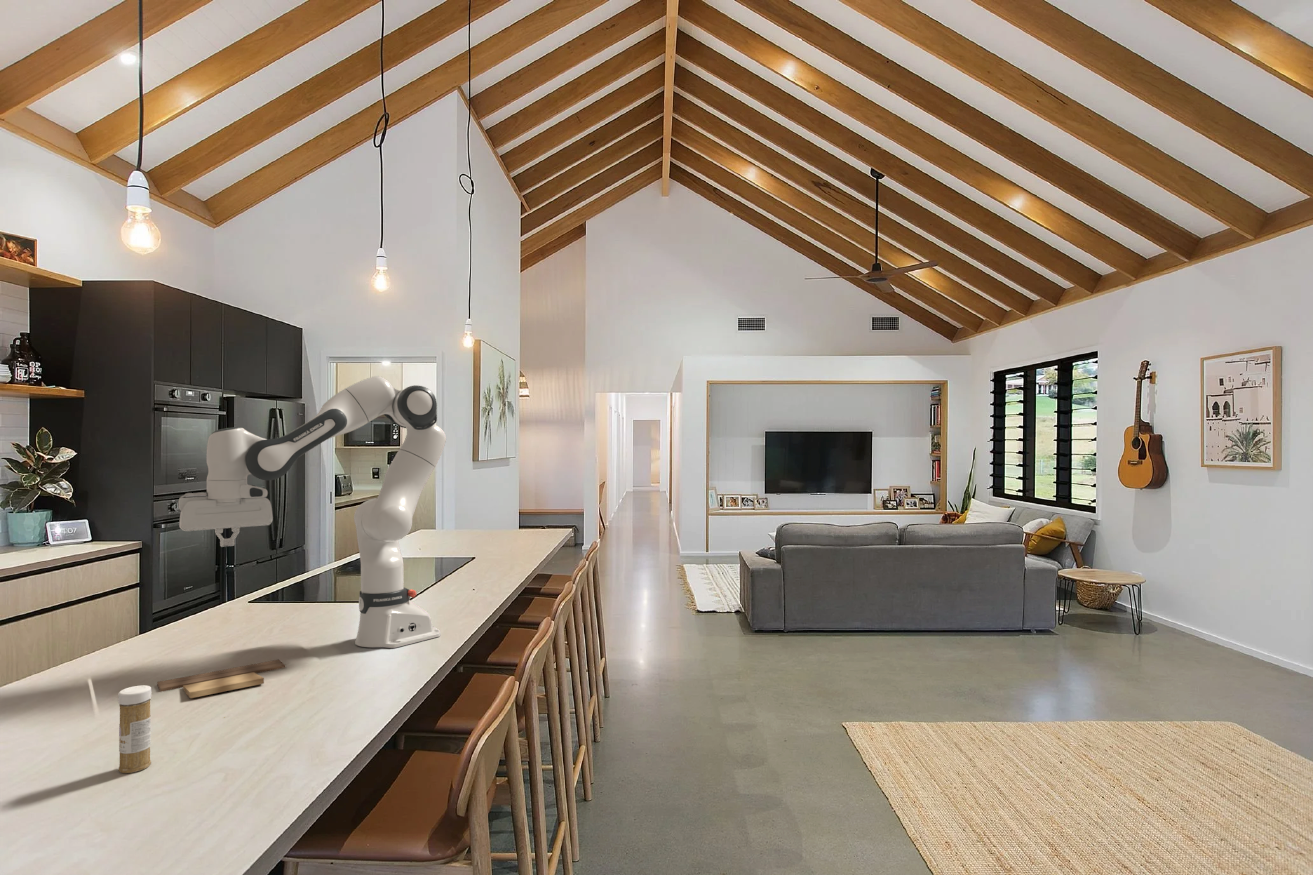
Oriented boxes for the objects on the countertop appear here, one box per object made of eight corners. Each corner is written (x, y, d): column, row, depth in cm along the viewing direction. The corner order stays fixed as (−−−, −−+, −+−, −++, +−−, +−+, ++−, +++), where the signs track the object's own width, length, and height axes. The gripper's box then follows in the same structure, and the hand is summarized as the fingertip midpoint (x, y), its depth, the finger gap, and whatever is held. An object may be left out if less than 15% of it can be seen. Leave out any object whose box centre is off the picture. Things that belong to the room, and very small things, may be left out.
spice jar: (115, 768, 122) (114, 689, 122) (147, 759, 125) (146, 682, 125) (122, 776, 119) (122, 695, 119) (155, 767, 122) (155, 688, 123)
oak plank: (253, 677, 169) (253, 672, 169) (263, 683, 162) (263, 677, 162) (183, 691, 160) (182, 685, 160) (190, 698, 152) (190, 692, 152)
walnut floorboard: (278, 664, 179) (278, 659, 179) (285, 669, 174) (285, 664, 174) (157, 687, 163) (157, 681, 163) (160, 694, 158) (160, 688, 158)
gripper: (180, 494, 173) (180, 551, 173) (274, 489, 186) (274, 543, 186) (176, 492, 177) (176, 548, 177) (268, 488, 191) (268, 540, 191)
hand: (227, 545), depth 182 cm, fingers closed
